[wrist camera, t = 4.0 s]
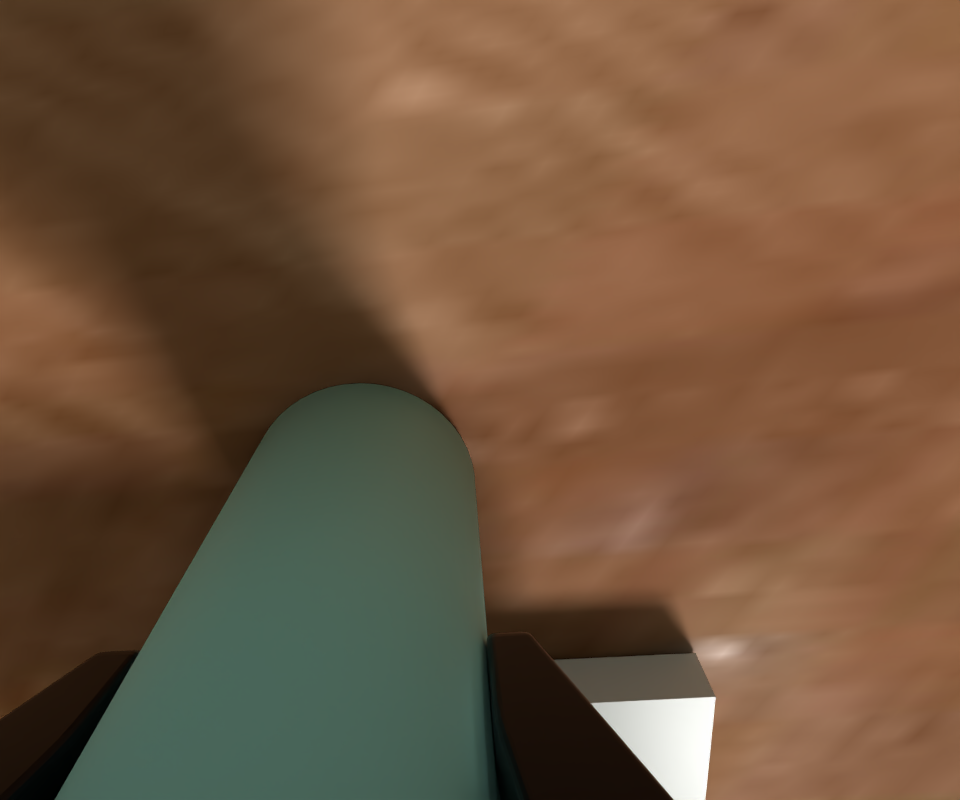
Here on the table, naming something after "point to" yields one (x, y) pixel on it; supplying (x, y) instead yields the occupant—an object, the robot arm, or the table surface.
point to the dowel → (319, 627)
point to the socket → (655, 713)
